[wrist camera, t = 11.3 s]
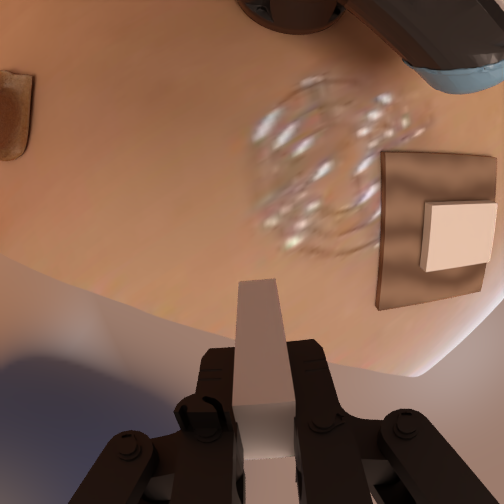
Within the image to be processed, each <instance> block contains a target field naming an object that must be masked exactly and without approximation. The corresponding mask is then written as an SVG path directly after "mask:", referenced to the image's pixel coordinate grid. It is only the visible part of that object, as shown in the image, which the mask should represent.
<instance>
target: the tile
mask: <svg viewBox="0 0 504 504" xmlns="http://www.w3.org/2000/svg"><path fill="white" fill-rule="evenodd" d="M497 205H498V203H496V202H493V201H491V200H480V201H446V202H425V214H424V228H423V240H422V251H421V260H420V267H421V268H422V269H423V270H424V271H425V272H430V271H437V270H443V269H450V268H456V267H462V266H468V265H474V264H480V263H486V262H490V257H491V251H492V245H493V239H494V232H495V224H496V215H497Z"/></svg>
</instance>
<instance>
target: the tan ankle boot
mask: <svg viewBox="0 0 504 504" xmlns="http://www.w3.org/2000/svg"><path fill="white" fill-rule="evenodd" d="M31 88H32V75H20V74H14V73H12V72H8V71H3V70H0V160H1V161H11V160H14V159H16V158H17V157H18V156H20V155H22V154H23V152H24V150H25V148H26V143H27V138H28V130H29V116H30V101H31Z"/></svg>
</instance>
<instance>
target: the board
mask: <svg viewBox="0 0 504 504" xmlns="http://www.w3.org/2000/svg"><path fill="white" fill-rule="evenodd" d="M381 175H382V205H381V239H380V257H379V272H378V284H377V295H376V304H375V306H376V308H377V309H378V311H381V310H387V309H393V308H399V307H405V306H410V305H416V304H421V303H427V302H432V301H437V300H442V299H447V298H452V297H456V296H461V295H466V294H470V293H475V292H479V291H481V287H482V283H483V278H484V273H485V268H486V263H487V262H486V263H480V264H474V265H468V266H462V267H456V268H450V269H443V270H437V271H430V272H425V271H424V270H423V269H422V268H421V267H420V260H421V251H422V240H423V228H424V214H425V202H446V201H480V200H491V201H493V202H495V193H496V175H497V158H495V157H488V156H477V155H463V154H447V153H424V152H381Z"/></svg>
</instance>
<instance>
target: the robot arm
mask: <svg viewBox="0 0 504 504" xmlns="http://www.w3.org/2000/svg"><path fill="white" fill-rule="evenodd" d="M237 1H238V3H239V5H240V6H241V8H242V9H243V11H244V12H245V13H246V14H247V15H248V16H249V17H250V18H251V19H253V20H254V21H255V22H257V23H258V24H260V25H262V26H264V27H266V28H268V29H271V30H274V31H277V32H281V33H286V34H297V35H301V34H311V33H315V32H319V31H322V30H324V29H326V28H328V27H330V26H331V25H333V24H334V23H335V22H336V21H337V20H338V19H339V18H340V17H341V16H342V15H343V13H344V12H345V10H346V9H347V10H349V11H350V12H351V13H352V14H354V15H355V16H356V17H357V18H358V19H360V20H361V21H362V22H363V23H364V24H366V25H367V26H368V27H369V28H370V29H371V30H373V31H374V32H375V33H376V34H377V35H378V36H379V37H380V38H382V39H383V40H384V41H385V42H386V43H387V44H388V45H389V46H390V47H391V48H392V49H393V50H394V51H395V52H396V53H397V54H398V55H399V56H400V57H401V58H402V60H403V62H404V63H405V64H406V65H407V66H409V67H410V68H412V69H414V70H415V71H416V72H417V73H418V74H419V75H420V76H421V77H422V78H423V79H424V80H425V81H426V82H427V83H428V84H429V85H430V86H431V87H433V88H434V89H436V90H440V91H442V92H444V93H448V94H469V93H474V92H478V91H482V90H485V89H488V88H490V87H493V86H495V85H497V84H499V83H501V82H502V81H504V0H237ZM174 414H175V417H176V419H177V421H178V424H179V426H180V428H181V430H179V431H177V432H176V433H173V434H170V435H166V436H162V437H157V438H152V439H150V438H149V437H148V436H147V435H146V434H144V433H142V432H140V431H133V430H130V431H124V432H121V433H119V434H117V435H115V436H114V437H113V438H112V439H111V440H110V441H109V442H108V443H107V445H106V447H105V448H104V449H103V451H102V453H101V454H100V456H99V457H98V459H97V460H96V462H95V463H94V465H93V466H92V468H91V469H90V471H89V472H88V474H87V475H86V477H85V478H84V480H83V481H82V483H81V484H80V486H79V488H78V489H77V491H76V492H75V494H74V495H73V497H72V498H71V500H70V501H69V503H68V504H245V473H244V469H243V463H244V462H243V461H244V459H245V460H255V459H270V458H281V457H291V456H295V459H296V482H297V485H298V486H297V487H298V495H299V504H373V502H372V498H371V494H372V496H373V498H374V499H375V501H376V502H377V504H499V503H498V501H497V500H496V499H495V498H494V497H493V496H492V494H491V493H490V492H489V491H488V490H487V488H486V487H485V486H484V484H483V483H482V482H481V481H480V480H479V479H478V477H477V476H476V475H475V474H474V473H473V471H472V470H471V469H470V468H469V467H468V465H467V464H466V463H465V462H464V461H463V460H462V458H461V457H460V456H459V455H458V454H457V453H456V451H455V450H454V449H453V448H452V447H451V445H450V444H449V443H448V442H447V441H446V440H445V438H444V437H443V436H442V435H441V434H440V433H439V432H438V430H437V429H436V428H435V427H434V426H433V425H432V423H431V422H430V421H429V420H428V419H427V418H426V417H425V416H424V415H423V414H421V413H420V412H418V411H415V410H412V409H399V410H396V411H392V412H391V413H390V414H388V415H387V416H386V417H385V418H384V420H369V419H360V418H357V417H354V416H351V415H349V414H348V413H347V412H345V411H344V409H343V408H342V407H341V405H340V403H339V401H338V397H337V394H336V390H335V387H334V384H333V380H332V377H331V374H330V371H329V367H328V364H327V361H326V357H325V354H324V351H323V348H322V347H321V346H320V345H319V344H318V343H317V342H316V341H315V340H314V339H308V340H300V341H290V342H286V338H285V332H284V326H283V320H282V314H281V308H280V302H279V297H278V291H277V285H276V279H264V280H252V281H241V282H239V287H238V304H237V321H236V339H235V347H228V348H210V349H209V350H208V351H207V352H206V353H205V355H204V356H203V357H202V359H201V365H200V372H199V376H198V381H197V387H196V393H195V394H192V395H190V396H188V397H186V398H184V399H182V400H181V401H180V402H179V403H178V404H177V406H176V408H175V410H174ZM370 493H371V494H370Z"/></svg>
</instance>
